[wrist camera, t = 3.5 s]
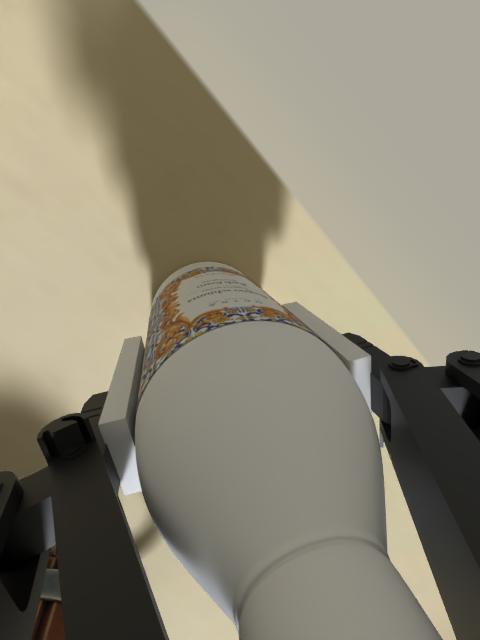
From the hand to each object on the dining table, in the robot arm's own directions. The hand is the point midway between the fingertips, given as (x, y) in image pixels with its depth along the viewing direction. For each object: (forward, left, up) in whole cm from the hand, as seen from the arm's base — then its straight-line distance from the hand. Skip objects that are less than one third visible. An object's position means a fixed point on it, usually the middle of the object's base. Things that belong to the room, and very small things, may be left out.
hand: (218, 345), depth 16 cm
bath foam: (0, 0, -5) cm, 5 cm away
